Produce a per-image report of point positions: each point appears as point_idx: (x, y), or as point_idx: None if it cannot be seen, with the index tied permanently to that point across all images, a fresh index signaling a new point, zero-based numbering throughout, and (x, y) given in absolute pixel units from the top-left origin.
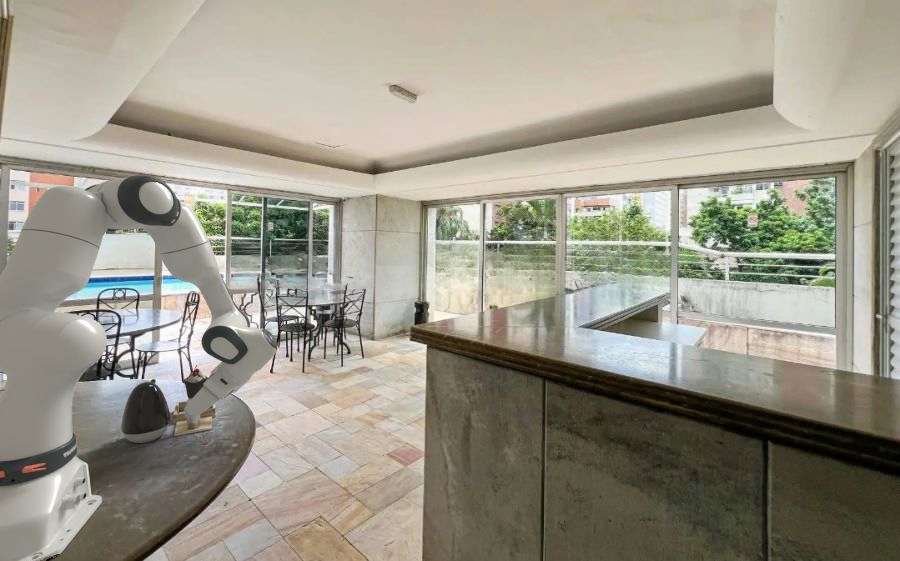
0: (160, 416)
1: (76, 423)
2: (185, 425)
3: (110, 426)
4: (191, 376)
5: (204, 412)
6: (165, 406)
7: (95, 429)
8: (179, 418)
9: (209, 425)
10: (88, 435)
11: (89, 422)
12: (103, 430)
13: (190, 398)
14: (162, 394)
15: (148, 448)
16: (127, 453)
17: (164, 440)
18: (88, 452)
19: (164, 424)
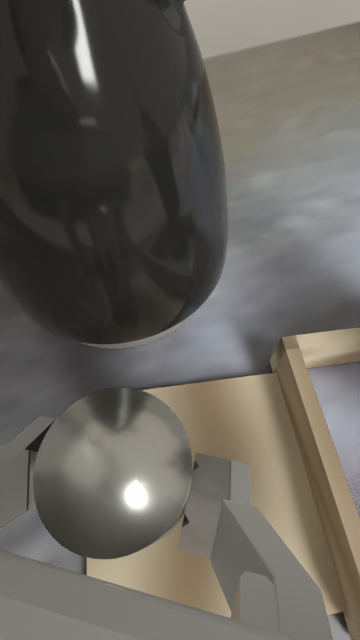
0: (2, 268)
1: (335, 101)
2: (197, 433)
3: (294, 167)
4: None
5: (343, 545)
6: (39, 244)
7: (276, 144)
8: (285, 378)
9: None
10: (230, 143)
11: (339, 120)
12: (262, 161)
13: (174, 417)
14: (38, 117)
15: (12, 323)
16: None
17: (66, 366)
18: None
19: (39, 323)
